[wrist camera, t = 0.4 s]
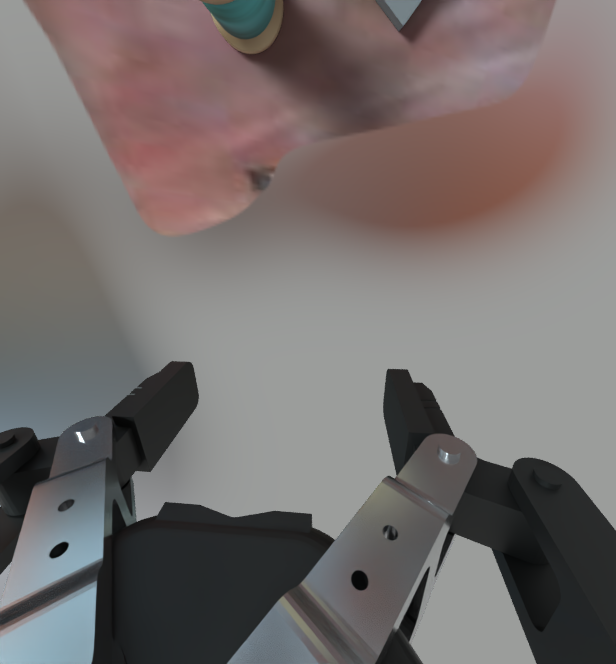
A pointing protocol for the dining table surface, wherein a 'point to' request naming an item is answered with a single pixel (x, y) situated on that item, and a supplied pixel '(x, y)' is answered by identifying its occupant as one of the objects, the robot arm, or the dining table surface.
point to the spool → (247, 22)
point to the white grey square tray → (398, 10)
